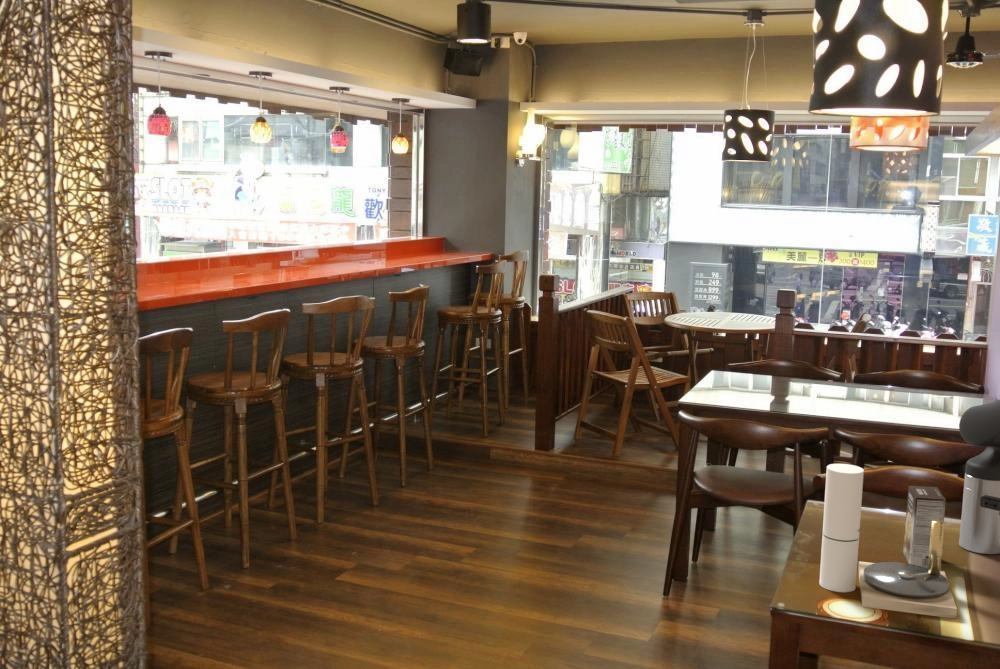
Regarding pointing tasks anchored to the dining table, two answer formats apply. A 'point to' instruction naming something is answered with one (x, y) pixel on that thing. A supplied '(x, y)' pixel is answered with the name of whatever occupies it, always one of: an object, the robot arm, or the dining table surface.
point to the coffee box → (921, 522)
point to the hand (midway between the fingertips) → (981, 500)
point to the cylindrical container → (841, 527)
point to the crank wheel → (912, 572)
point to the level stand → (906, 600)
